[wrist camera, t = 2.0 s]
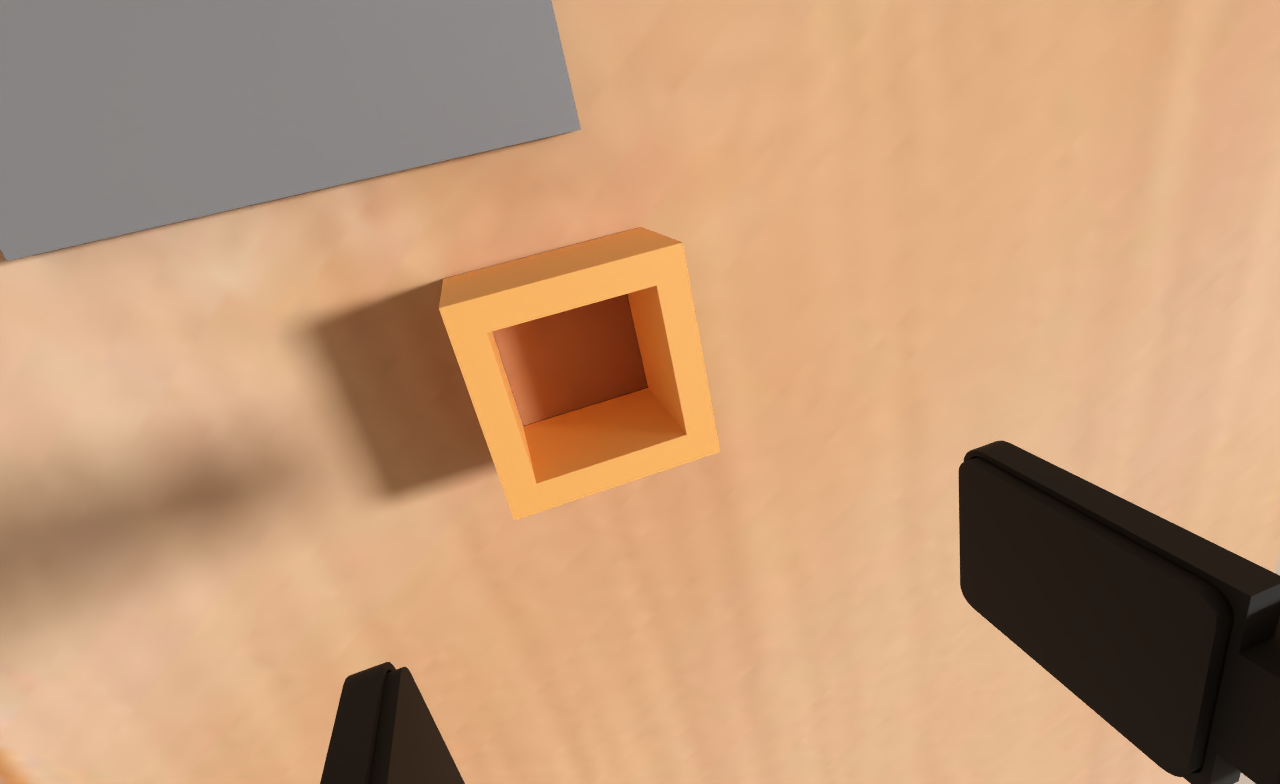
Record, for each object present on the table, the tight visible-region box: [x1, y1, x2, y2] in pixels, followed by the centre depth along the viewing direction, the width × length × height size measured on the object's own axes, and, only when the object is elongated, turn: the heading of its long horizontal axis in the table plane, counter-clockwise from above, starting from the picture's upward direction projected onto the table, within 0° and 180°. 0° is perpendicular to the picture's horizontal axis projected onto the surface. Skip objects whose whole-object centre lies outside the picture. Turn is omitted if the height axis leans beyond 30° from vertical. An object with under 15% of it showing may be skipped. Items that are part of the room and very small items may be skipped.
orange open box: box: [439, 227, 720, 520], centre depth 20 cm, size 7×7×4 cm
